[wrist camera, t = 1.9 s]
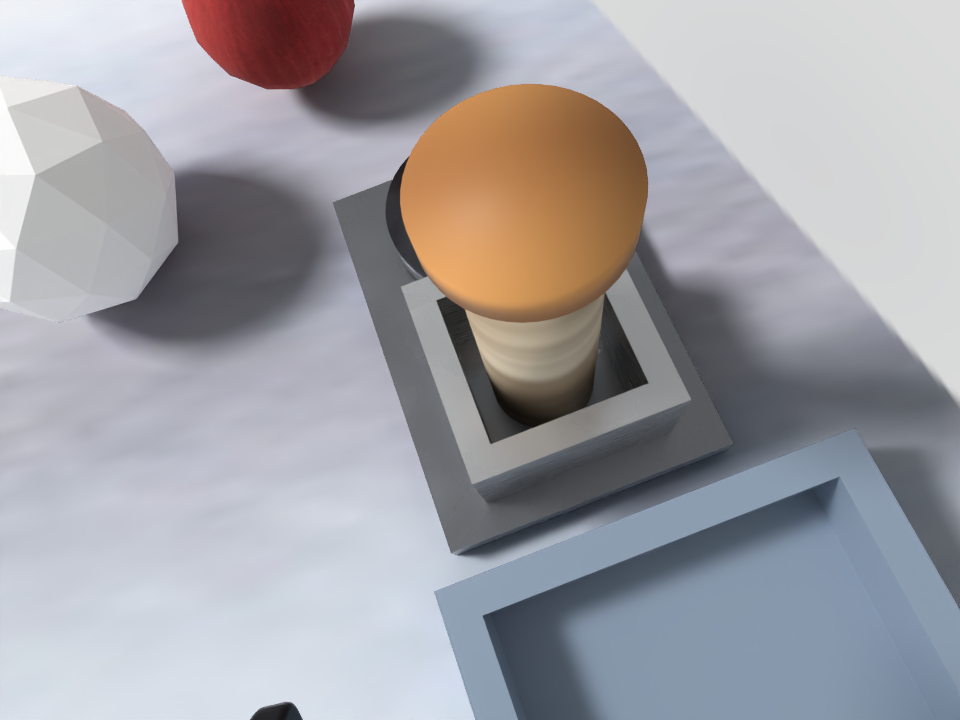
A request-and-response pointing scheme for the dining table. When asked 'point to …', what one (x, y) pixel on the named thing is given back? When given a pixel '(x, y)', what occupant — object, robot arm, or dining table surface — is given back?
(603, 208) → the orange-brown round-topped piece
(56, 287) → the ball
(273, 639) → the dining table surface
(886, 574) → the tray
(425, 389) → the grey piece
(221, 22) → the onion
